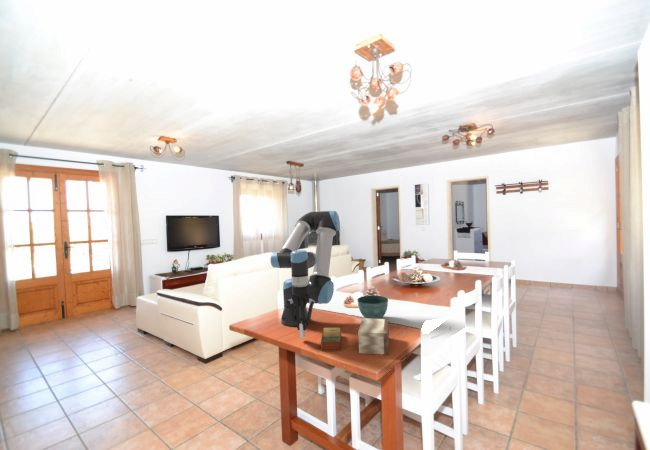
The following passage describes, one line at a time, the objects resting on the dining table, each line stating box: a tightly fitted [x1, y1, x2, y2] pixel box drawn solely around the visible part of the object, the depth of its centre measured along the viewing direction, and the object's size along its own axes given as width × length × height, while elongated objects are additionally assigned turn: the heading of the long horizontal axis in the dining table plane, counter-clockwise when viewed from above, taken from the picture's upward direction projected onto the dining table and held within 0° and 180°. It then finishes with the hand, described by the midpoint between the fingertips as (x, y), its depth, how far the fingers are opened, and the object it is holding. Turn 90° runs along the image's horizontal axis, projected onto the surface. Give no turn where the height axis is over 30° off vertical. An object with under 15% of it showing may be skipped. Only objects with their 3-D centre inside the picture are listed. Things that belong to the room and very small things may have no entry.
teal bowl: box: [357, 294, 389, 319], centre depth 161 cm, size 16×16×11 cm
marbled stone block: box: [357, 317, 390, 356], centre depth 128 cm, size 12×17×8 cm
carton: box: [320, 327, 342, 352], centre depth 133 cm, size 8×16×4 cm, turn 177°
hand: (302, 337), depth 136 cm, fingers closed
